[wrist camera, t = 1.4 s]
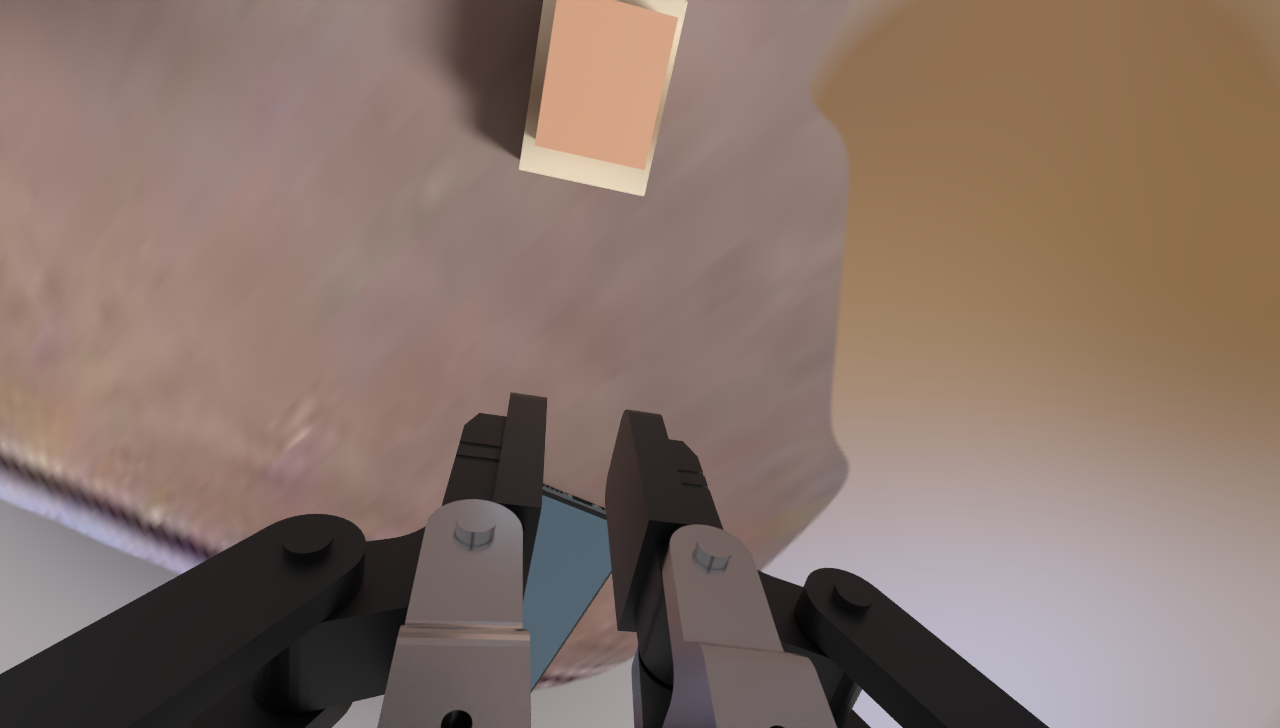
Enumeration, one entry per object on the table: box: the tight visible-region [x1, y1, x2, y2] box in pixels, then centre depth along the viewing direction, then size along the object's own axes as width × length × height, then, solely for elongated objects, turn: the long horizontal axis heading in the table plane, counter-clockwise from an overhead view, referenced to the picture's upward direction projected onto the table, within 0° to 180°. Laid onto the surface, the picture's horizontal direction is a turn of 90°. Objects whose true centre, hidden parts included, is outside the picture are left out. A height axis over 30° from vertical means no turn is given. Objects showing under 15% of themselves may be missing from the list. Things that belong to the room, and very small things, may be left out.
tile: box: [535, 0, 678, 170], centre depth 22 cm, size 5×4×2 cm
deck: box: [519, 0, 688, 196], centre depth 24 cm, size 7×5×2 cm
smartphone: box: [523, 484, 612, 692], centre depth 36 cm, size 8×2×15 cm
